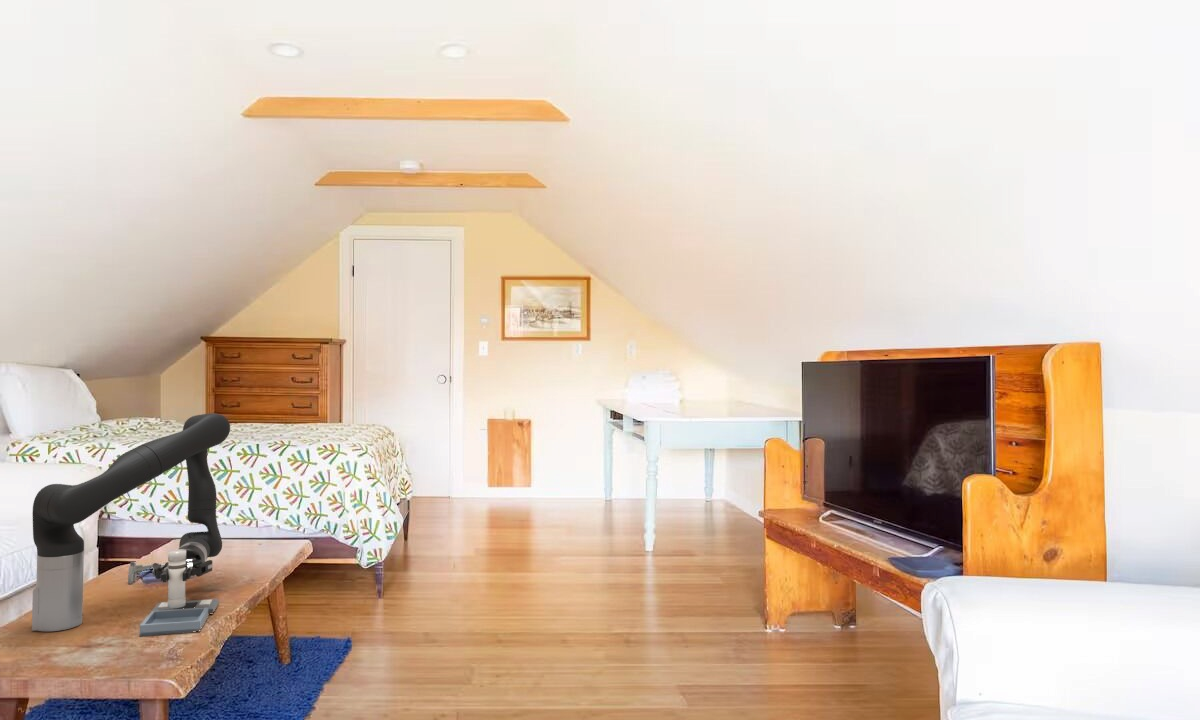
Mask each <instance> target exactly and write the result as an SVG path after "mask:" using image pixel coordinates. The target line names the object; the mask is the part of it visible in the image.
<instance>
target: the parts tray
mask: <svg viewBox="0 0 1200 720" xmlns="http://www.w3.org/2000/svg"><path fill="white" fill-rule="evenodd" d="M207 617H208V618H209V615H208V608H192V609H177V610H161V611H152V610H151V611H150V612H149V614H148V615H147V616H146V617H145V619H144V620H143V621H142V622H141V623H140V625H139V637H148V636H149V637H150V636H163V635H165V634H166V635H174V634H173V633H180V634H184V633H183V632H193V631H199V630H200V629H201V627H202V626H203V624H204V622H205V621H206V619H207ZM207 620H208V619H207ZM206 622H207V621H206ZM206 622H205V623H206ZM204 625H205V624H204ZM203 627H204V626H203ZM201 630H202V629H201ZM166 635H165V636H166Z"/></svg>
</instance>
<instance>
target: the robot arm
mask: <svg viewBox="0 0 1200 720" xmlns="http://www.w3.org/2000/svg"><path fill="white" fill-rule="evenodd" d="M230 431H231V423H230V421H229V419H228V418H227V417H225V415H222V414H220V413H213V412H210V413H203V414H197V415H193V416H191V417H189V418H187V419H186V420H185V422H184V424H183V427H182V430H181V431H178V432H176V433H173V434H169V435H166V436H163V437H159V438H155V439H153V440H151V441H148V442H145V443H143V444H142V443H141V444H139V445H138V446H136V447H133V448H132V449H130V450H128V451H126V452H124V453H123V454H121V455H120V456H118V457H117V458H116V459H115V460H114V462H113V463H112V464H111V465H110V466H109V468H107V470H105V471H103V473H101V474H99V475H97V476H95V477H92V478H91V479H89V480H86V481H84V482H82V483H78V484H73V485H72V484H63V483H52V484H48V485H46V486H44V487H42V488H41V489H40V490H39V491H38V492H37V494H36V495H35V497H34V501H33V504H32V513H31V514H32V539H33V543H34V545H35V546H36V582H35V583H36V584H35V585H36V587H34V588H33V589H32V606H31V607H32V610H31V613H32V614H31V631H38V632H59V631H64V630H69V629H73V628H76V627H78V626H81V624H82V623H83V616H84V612H83V609H84V608H83V607H84V605H83V603H84V571H85V569H84V568H85V566H84V565H85V563H84V562H85V561H84V559H85V541H84V538H83V537H82V536H81V535H79V534H78V531H76V529H75V525H76V524H78V523H81V522H82V521H85V520H86V519H88V518H89V517H92V515H94V514H95V513H96V512H98V511H100V510H101V509H102V508H104V507H106V506H107V505H108V504H110V503H111V502H113V501H115V500H116V499H118V498H120V497H121V496H124V495H125V494H127V493H129V492H131V491H133V490H135V489H136V488H138V487H140V486H143V485H144V484H146V483H148V482H151V481H152V480H154V479H155V478H157V477H159V476H161V475H163V474H164V473H166V472H167V471H169V470H171V469H173V468H174V467H176V466H177V465H179V464H181V463H183V462H184V461H185V463H186V470H187V472H186V473H187V483H188V484H187V486H188V495H187V496H188V500H187V521H188V522H190V523H193V524H200V525H204V526H205V527H206V529H207V531H192V532H186V533H184V534H182V536H181V537H180V540H179V545H178V546H179V548H178V549H184V550H186V569H185V570H184V571H183V581H185V582H187V580H190V579H191V578H193V577H198V578H199V577H202V576H204V575H207V574H208V573H210V572H212V571H213V560H211V559H208V558H215V557H216V556H218V555H220V553H221V551H222V548H223V540H222V537H221V533H220V530H219V526H218V520H217V487H216V484H215V481H214V478H213V476H212V474H211V471H210V468H209V464H208V451H209V450H208V449H211V448H213V447H216V446H218V445H221V444H222V443H223V442H225V440H226V439H227V438H228V437H229V435H230ZM207 559H208V560H207ZM152 564H153V570H151V571H152V572H151V574H152V576H153V577H154V578H155V579H157V580H160V581H161V582H162V583H167V582H168V564H169V561H167V562H165V563H164V565H162V563H158V562H154V563H152Z"/></svg>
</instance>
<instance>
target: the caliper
mask: <svg viewBox="0 0 1200 720" xmlns="http://www.w3.org/2000/svg"><path fill="white" fill-rule="evenodd" d="M153 564H154V563H152V564H146V565H143V564H137V561H130V565H129V567H128V572H127V573H128V574H127V584H128V585H133V584H135V583H136V580H137V576H139V575H141V574H140V573H141V572H142V573H143V572H144V571H143V570H145V569H147V568H150V567H153Z"/></svg>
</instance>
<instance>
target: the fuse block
mask: <svg viewBox="0 0 1200 720" xmlns="http://www.w3.org/2000/svg"><path fill="white" fill-rule="evenodd" d="M219 603H220V599H219V598H210V599H209V598H208V599H194V600H191V599H190V600H186V605H185V606H184V607H180V608H168V601H161V602H160V601H159V602H158V603H156V605H155V606H154V607H153V609H152V610H151V611H161V610H177V609H183V608H184V609H192V608H194V607H195V608H208V614H210V613H213V612H214V611H215V612H216V610H217V609H216V607H217V606H218V607H219V605H220V604H219ZM218 604H219V605H218ZM218 607H217V608H218ZM215 609H216V610H215ZM215 612H214V613H215Z"/></svg>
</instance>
